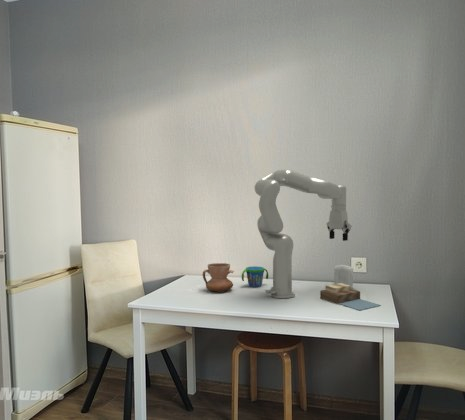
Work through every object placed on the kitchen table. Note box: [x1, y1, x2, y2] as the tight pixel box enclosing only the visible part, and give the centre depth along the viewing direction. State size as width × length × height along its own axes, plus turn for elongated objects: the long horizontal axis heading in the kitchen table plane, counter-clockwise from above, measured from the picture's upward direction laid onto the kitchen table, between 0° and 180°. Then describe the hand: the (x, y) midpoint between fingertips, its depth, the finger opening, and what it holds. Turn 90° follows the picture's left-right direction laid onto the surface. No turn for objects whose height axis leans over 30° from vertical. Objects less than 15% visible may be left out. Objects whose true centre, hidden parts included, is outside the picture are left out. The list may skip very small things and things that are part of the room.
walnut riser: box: [319, 288, 361, 305], centre depth 214 cm, size 15×12×4 cm
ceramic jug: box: [202, 262, 235, 293], centre depth 234 cm, size 18×14×14 cm
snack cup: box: [241, 265, 269, 288], centre depth 243 cm, size 16×10×10 cm
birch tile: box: [324, 283, 350, 293], centre depth 215 cm, size 10×7×2 cm
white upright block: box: [333, 264, 354, 289], centre depth 236 cm, size 10×4×12 cm, turn 52°
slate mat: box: [338, 298, 382, 311], centre depth 203 cm, size 14×13×1 cm
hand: (338, 239), depth 235 cm, fingers open, 9 cm apart
